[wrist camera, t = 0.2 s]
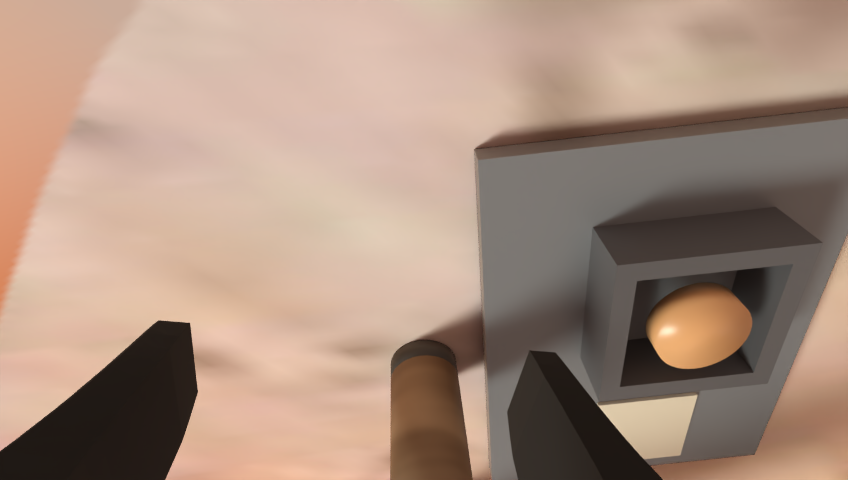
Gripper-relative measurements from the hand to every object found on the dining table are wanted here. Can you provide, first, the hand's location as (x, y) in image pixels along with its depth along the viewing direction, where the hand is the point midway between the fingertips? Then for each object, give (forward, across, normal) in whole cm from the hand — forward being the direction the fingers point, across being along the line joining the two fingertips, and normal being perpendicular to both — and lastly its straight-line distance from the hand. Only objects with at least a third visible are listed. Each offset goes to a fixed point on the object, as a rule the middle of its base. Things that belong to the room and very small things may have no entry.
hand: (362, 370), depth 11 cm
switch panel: (+10, -13, +6) cm, 18 cm away
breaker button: (+7, -13, +3) cm, 15 cm away
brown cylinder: (+10, -3, +10) cm, 14 cm away
